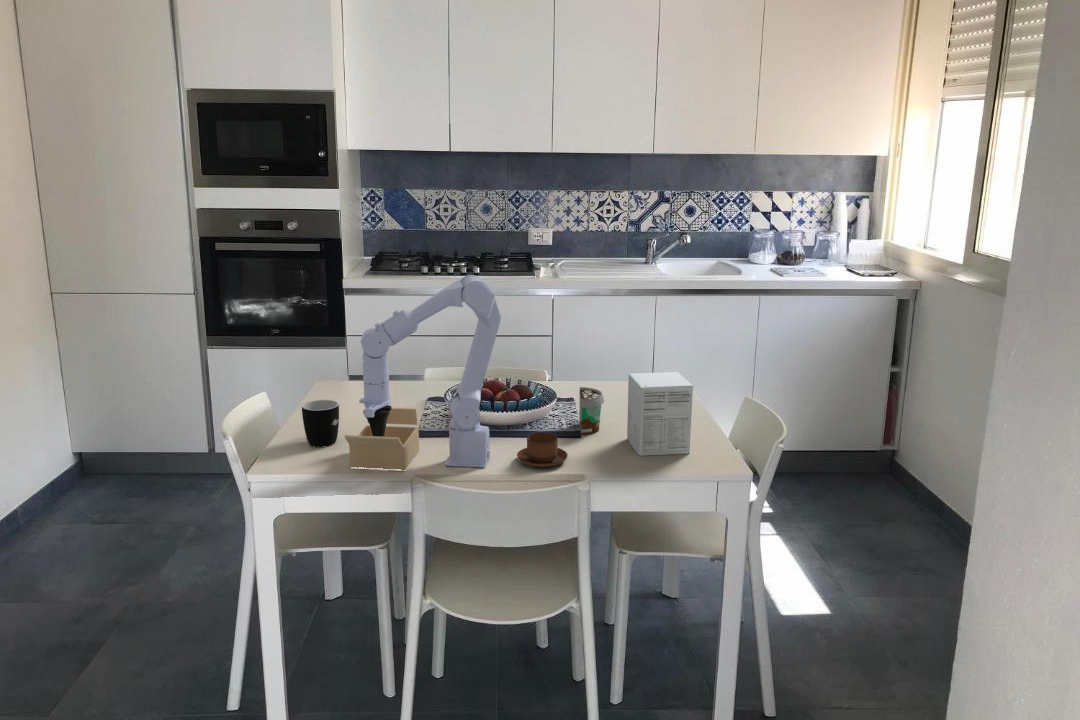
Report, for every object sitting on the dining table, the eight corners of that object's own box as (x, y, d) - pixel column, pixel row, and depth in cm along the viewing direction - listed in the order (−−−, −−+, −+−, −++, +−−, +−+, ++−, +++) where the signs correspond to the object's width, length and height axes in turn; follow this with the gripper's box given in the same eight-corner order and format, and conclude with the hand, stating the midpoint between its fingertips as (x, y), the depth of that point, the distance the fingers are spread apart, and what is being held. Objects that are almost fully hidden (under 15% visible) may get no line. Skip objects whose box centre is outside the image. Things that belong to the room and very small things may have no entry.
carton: (419, 450, 222) (418, 427, 220) (405, 471, 208) (404, 446, 207) (367, 448, 223) (366, 425, 221) (350, 469, 209) (349, 444, 208)
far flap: (417, 424, 220) (417, 423, 221) (415, 409, 218) (416, 408, 218) (367, 423, 221) (368, 421, 222) (365, 407, 219) (366, 406, 220)
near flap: (398, 437, 202) (398, 439, 202) (402, 445, 206) (402, 447, 206) (344, 435, 203) (344, 437, 203) (349, 443, 207) (349, 445, 207)
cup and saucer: (506, 461, 215) (506, 437, 213) (542, 449, 223) (542, 426, 222) (542, 475, 207) (542, 450, 205) (577, 462, 215) (578, 438, 213)
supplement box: (691, 454, 220) (694, 385, 216) (638, 456, 218) (640, 387, 214) (675, 436, 233) (678, 371, 229) (625, 438, 231) (627, 372, 227)
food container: (605, 437, 232) (606, 400, 229) (581, 437, 232) (581, 400, 229) (601, 422, 244) (602, 386, 241) (578, 422, 244) (579, 386, 241)
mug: (336, 449, 222) (334, 410, 220) (300, 449, 222) (297, 410, 219) (346, 433, 234) (344, 396, 231) (311, 433, 234) (309, 396, 231)
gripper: (367, 372, 213) (370, 427, 216) (349, 389, 199) (352, 447, 202) (397, 373, 212) (399, 428, 215) (381, 390, 198) (383, 448, 201)
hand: (378, 437), depth 209 cm, fingers closed
